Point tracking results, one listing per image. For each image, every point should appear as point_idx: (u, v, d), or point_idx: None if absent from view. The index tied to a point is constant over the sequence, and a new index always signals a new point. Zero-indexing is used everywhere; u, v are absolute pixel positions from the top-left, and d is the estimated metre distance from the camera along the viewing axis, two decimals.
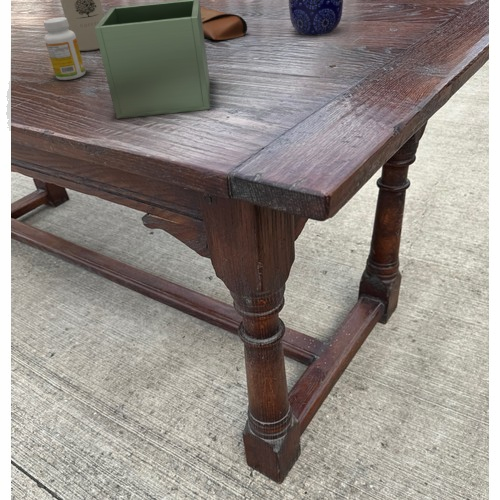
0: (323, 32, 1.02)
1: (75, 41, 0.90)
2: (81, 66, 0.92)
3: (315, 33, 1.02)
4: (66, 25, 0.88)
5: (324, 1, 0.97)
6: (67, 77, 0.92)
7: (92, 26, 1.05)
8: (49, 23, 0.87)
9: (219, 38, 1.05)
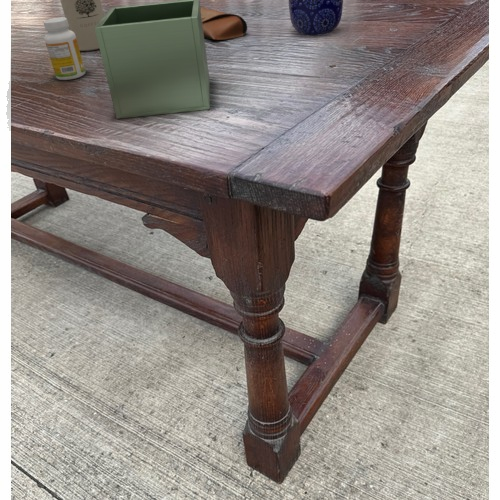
0: (323, 32, 1.02)
1: (75, 41, 0.90)
2: (81, 66, 0.92)
3: (315, 33, 1.02)
4: (66, 25, 0.88)
5: (324, 1, 0.97)
6: (67, 77, 0.92)
7: (92, 26, 1.05)
8: (49, 23, 0.87)
9: (219, 38, 1.05)
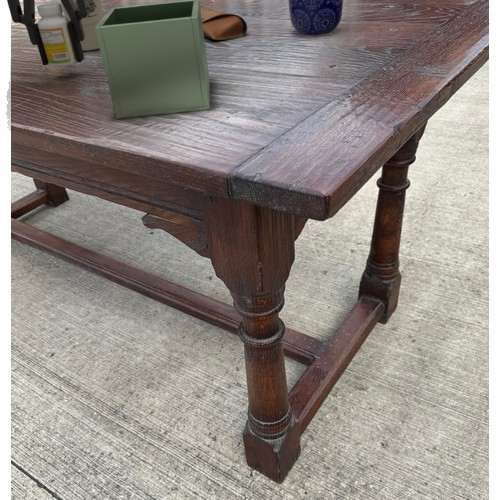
0: (323, 32, 1.02)
1: None
2: (74, 53, 0.91)
3: (315, 33, 1.02)
4: (60, 10, 0.87)
5: (324, 1, 0.97)
6: (60, 64, 0.90)
7: (92, 26, 1.05)
8: (43, 8, 0.85)
9: (219, 38, 1.05)
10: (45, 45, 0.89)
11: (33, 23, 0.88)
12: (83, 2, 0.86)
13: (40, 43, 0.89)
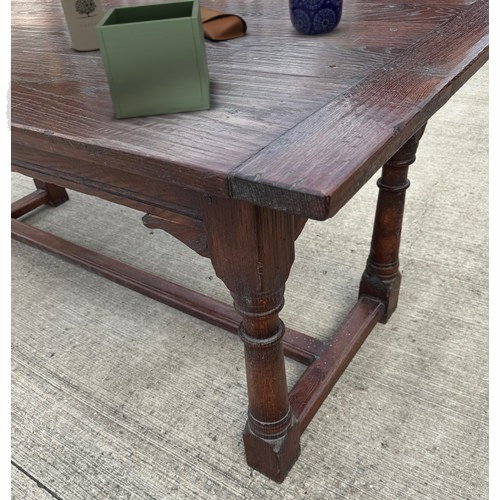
0: (323, 32, 1.02)
1: None
2: None
3: (315, 33, 1.02)
4: None
5: (324, 1, 0.97)
6: None
7: (92, 26, 1.05)
8: None
9: (219, 38, 1.05)
10: None
11: None
12: None
13: None
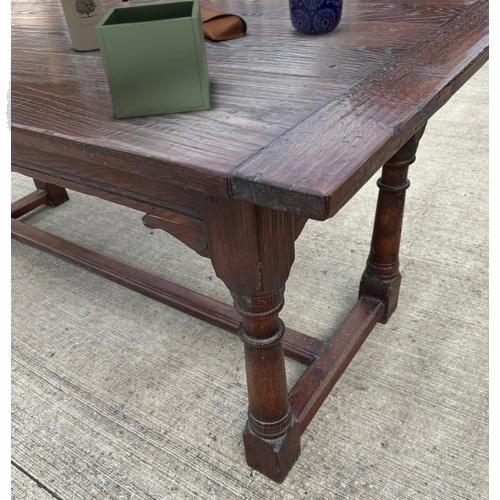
0: (323, 32, 1.02)
1: None
2: None
3: (315, 33, 1.02)
4: None
5: (324, 1, 0.97)
6: None
7: (92, 26, 1.05)
8: None
9: (219, 38, 1.05)
10: None
11: None
12: None
13: None
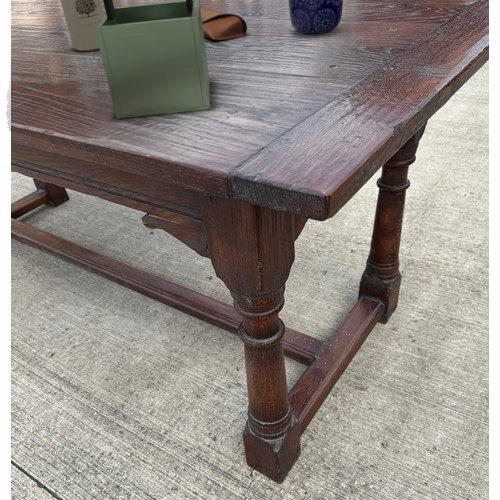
0: (323, 32, 1.02)
1: None
2: None
3: (315, 33, 1.02)
4: None
5: (324, 1, 0.97)
6: None
7: (92, 26, 1.05)
8: None
9: (219, 38, 1.05)
10: None
11: None
12: None
13: None
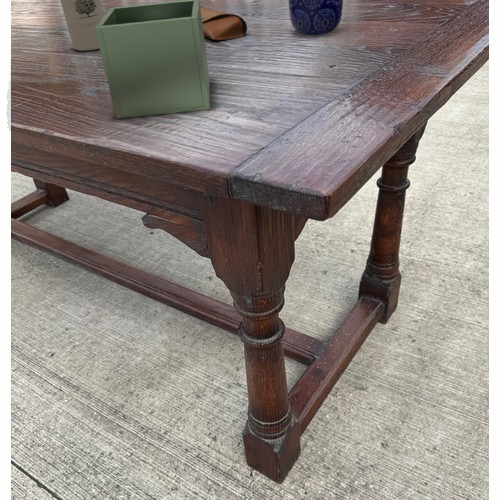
0: (323, 32, 1.02)
1: None
2: None
3: (315, 33, 1.02)
4: None
5: (324, 1, 0.97)
6: None
7: (92, 26, 1.05)
8: None
9: (219, 38, 1.05)
10: None
11: None
12: None
13: None
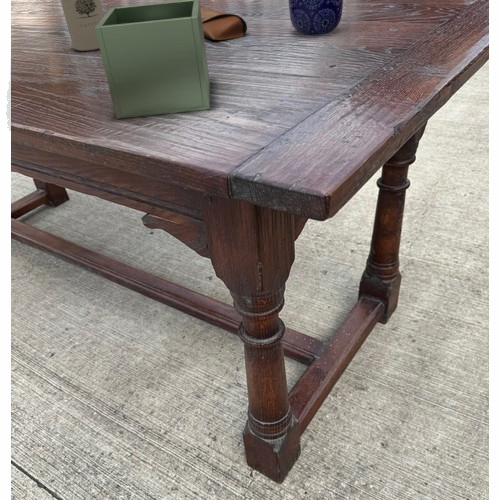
0: (323, 32, 1.02)
1: None
2: None
3: (315, 33, 1.02)
4: None
5: (324, 1, 0.97)
6: None
7: (92, 26, 1.05)
8: None
9: (219, 38, 1.05)
10: None
11: None
12: None
13: None
